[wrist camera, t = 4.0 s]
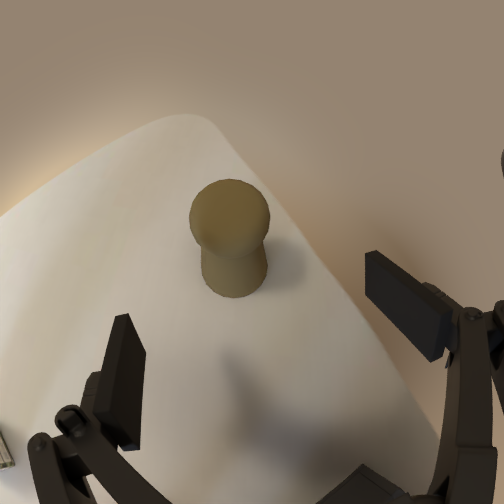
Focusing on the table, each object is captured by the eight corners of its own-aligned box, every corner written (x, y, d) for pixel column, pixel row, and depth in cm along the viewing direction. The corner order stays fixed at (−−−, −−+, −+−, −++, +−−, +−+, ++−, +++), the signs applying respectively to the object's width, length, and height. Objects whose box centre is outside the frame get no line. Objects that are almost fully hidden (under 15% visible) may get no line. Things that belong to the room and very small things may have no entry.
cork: (255, 227, 31) (259, 154, 20) (276, 286, 29) (294, 234, 18) (194, 246, 30) (169, 179, 20) (211, 306, 28) (191, 265, 18)
